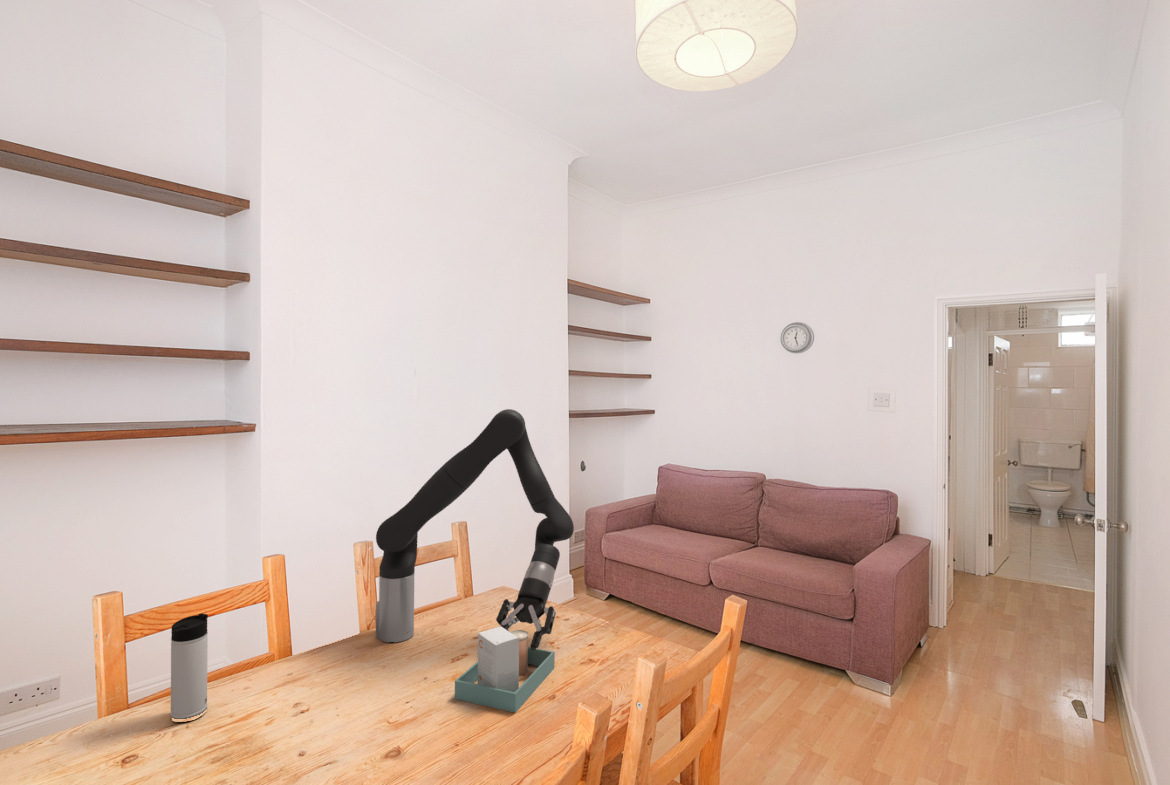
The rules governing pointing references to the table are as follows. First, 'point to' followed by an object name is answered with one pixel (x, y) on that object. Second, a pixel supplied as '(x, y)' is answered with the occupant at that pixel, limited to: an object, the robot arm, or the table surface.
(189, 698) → the travel mug
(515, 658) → the small box
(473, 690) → the tray
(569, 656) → the table surface
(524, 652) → the jar
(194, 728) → the table surface
